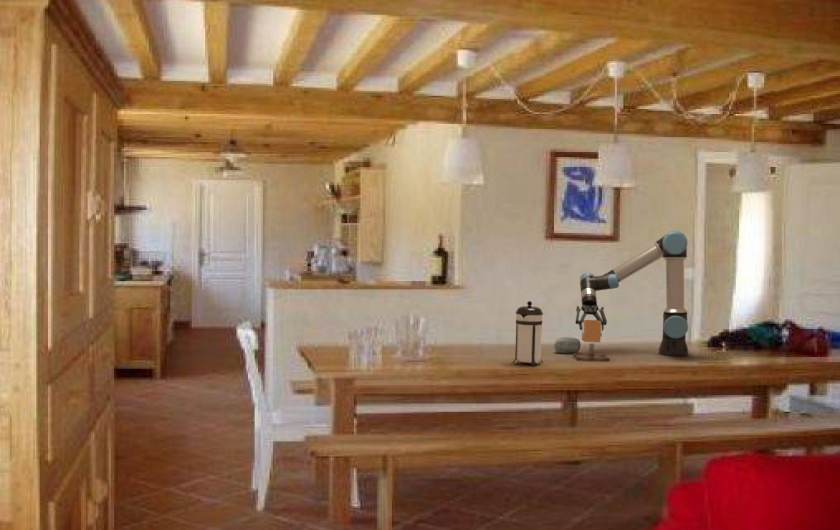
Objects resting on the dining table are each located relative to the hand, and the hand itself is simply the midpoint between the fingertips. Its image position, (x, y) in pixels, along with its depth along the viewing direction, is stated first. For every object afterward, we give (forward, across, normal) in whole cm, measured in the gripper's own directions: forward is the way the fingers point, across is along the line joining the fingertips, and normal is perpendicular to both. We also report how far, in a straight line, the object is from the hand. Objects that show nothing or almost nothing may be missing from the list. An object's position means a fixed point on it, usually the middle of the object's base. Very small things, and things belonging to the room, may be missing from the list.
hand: (592, 334), depth 444 cm
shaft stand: (+7, 0, -11) cm, 13 cm away
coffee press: (+22, +32, +3) cm, 39 cm away
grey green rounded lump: (-5, +10, -24) cm, 26 cm away
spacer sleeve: (0, 0, -5) cm, 5 cm away
